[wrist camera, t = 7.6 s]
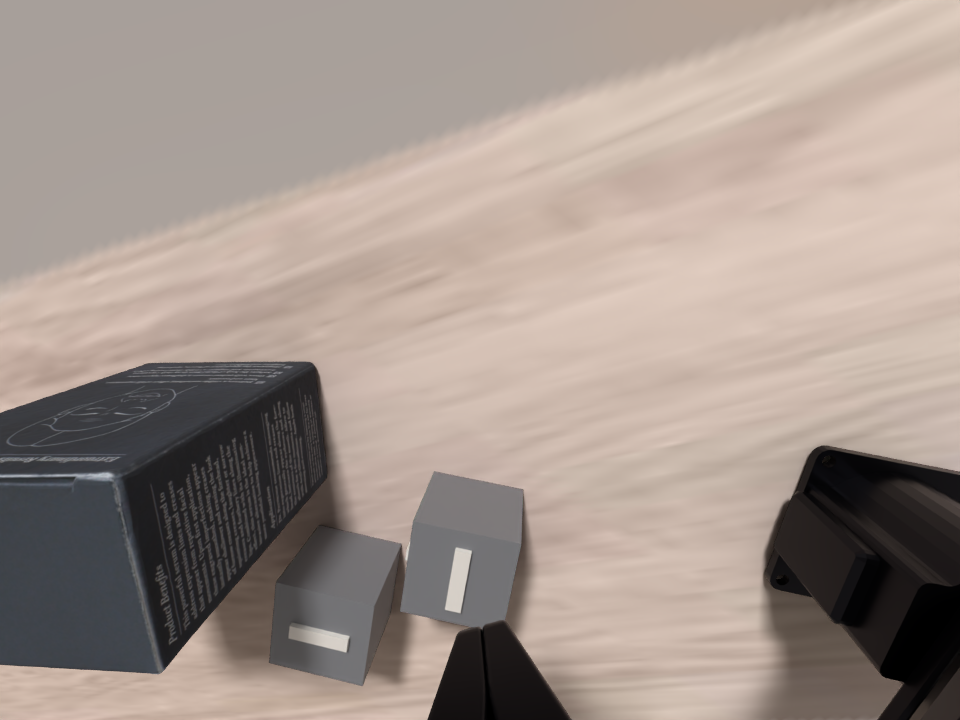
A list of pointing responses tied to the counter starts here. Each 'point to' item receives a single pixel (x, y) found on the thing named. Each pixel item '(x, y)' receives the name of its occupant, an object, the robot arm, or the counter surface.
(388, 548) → the marked cube seven
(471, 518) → the marked cube one
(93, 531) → the box
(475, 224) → the counter surface
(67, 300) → the counter surface
